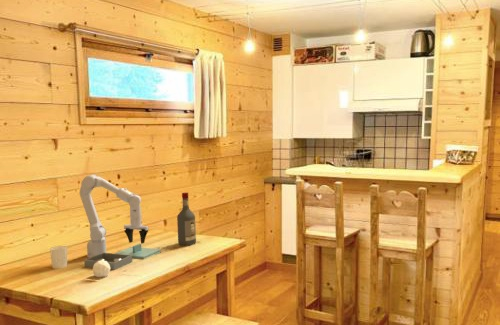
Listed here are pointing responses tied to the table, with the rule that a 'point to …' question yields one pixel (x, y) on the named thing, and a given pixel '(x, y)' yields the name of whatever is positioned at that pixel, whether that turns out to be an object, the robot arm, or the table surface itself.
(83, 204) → the robot arm
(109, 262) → the tub
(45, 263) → the table surface
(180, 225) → the liquor
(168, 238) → the table surface
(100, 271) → the ball
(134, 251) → the lid
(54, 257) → the white cup
